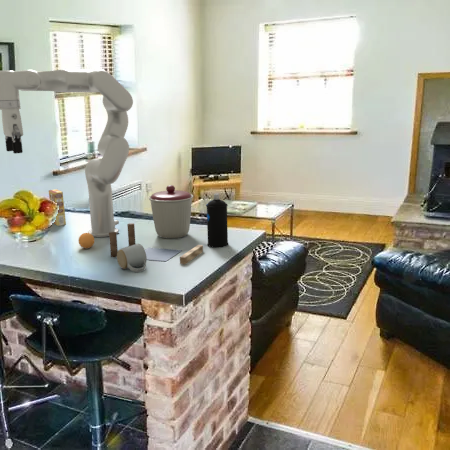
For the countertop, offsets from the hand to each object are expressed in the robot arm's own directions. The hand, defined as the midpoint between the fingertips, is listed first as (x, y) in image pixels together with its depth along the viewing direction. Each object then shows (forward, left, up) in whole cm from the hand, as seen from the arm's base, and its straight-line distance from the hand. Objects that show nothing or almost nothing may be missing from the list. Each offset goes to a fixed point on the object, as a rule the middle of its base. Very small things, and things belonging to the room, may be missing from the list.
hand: (14, 152), depth 209 cm
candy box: (-37, -12, -37) cm, 54 cm away
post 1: (+1, +40, -37) cm, 55 cm away
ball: (-6, +24, -34) cm, 42 cm away
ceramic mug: (+10, +54, -38) cm, 67 cm away
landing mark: (-6, +54, -37) cm, 66 cm away
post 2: (-13, +40, -37) cm, 56 cm away
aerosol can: (-24, +71, -37) cm, 84 cm away
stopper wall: (-6, +68, -37) cm, 78 cm away
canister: (-32, +48, -37) cm, 69 cm away
